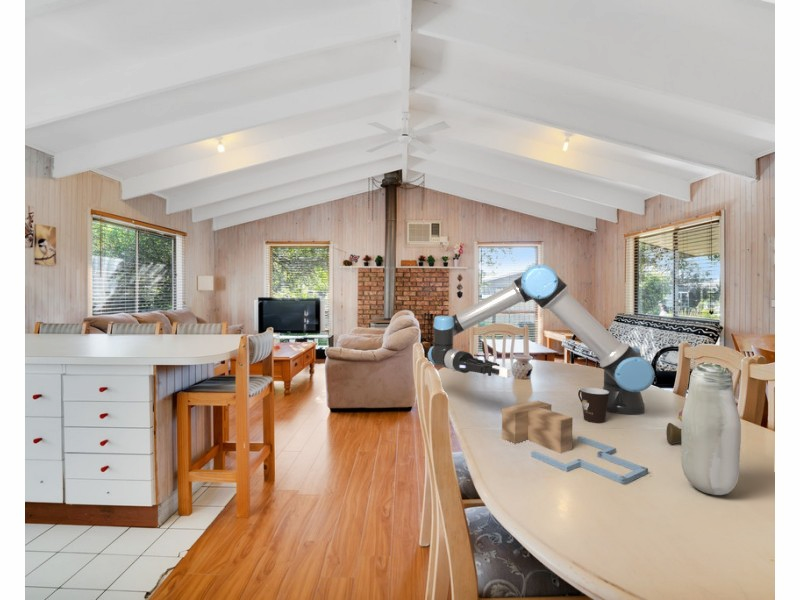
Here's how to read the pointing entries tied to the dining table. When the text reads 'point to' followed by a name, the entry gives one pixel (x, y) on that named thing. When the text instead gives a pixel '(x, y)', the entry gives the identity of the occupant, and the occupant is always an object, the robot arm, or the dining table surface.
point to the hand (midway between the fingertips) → (508, 373)
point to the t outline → (604, 454)
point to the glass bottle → (711, 431)
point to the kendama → (673, 434)
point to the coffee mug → (594, 404)
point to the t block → (537, 426)
